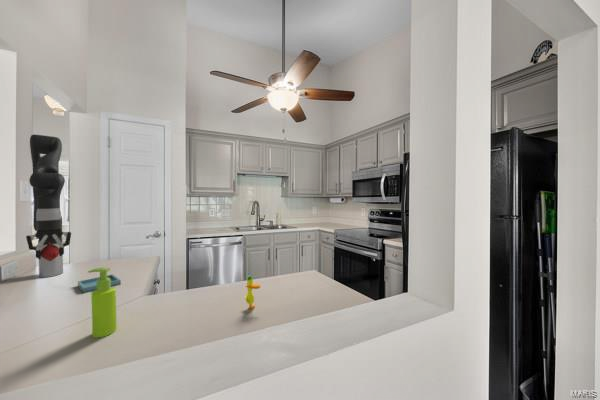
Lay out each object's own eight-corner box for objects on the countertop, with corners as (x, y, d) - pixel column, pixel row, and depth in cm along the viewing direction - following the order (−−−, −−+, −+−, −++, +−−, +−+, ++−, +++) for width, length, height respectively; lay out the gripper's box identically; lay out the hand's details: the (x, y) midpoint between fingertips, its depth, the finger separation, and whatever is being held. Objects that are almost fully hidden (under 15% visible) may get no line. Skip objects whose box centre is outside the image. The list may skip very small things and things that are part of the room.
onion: (63, 259, 110) (63, 241, 109) (49, 262, 104) (48, 244, 104) (51, 259, 110) (51, 241, 110) (36, 262, 104) (36, 243, 104)
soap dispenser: (98, 328, 79) (96, 266, 79) (120, 326, 80) (119, 265, 79) (83, 338, 73) (81, 272, 73) (108, 337, 74) (106, 271, 73)
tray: (77, 286, 117) (77, 281, 117) (113, 278, 127) (112, 274, 127) (83, 293, 108) (83, 288, 108) (120, 284, 118) (120, 279, 118)
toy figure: (262, 306, 93) (261, 275, 93) (258, 310, 90) (258, 278, 89) (245, 304, 95) (245, 274, 94) (241, 309, 91) (241, 277, 91)
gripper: (70, 217, 114) (71, 253, 115) (23, 219, 103) (25, 259, 104) (72, 218, 110) (73, 255, 110) (24, 220, 99) (25, 262, 99)
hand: (50, 257), depth 107 cm, fingers closed on onion, 6 cm apart
